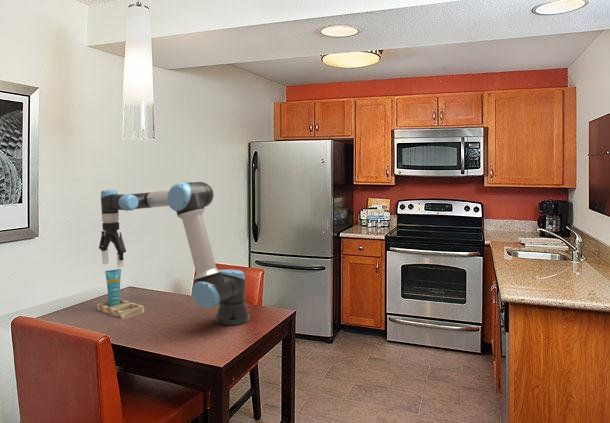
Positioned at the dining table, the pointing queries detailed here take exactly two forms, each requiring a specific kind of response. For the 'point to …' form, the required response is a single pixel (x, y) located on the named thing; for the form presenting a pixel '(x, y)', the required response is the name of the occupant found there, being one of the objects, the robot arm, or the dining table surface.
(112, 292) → the tube
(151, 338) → the dining table surface
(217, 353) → the dining table surface
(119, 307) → the wooden compartment tray
